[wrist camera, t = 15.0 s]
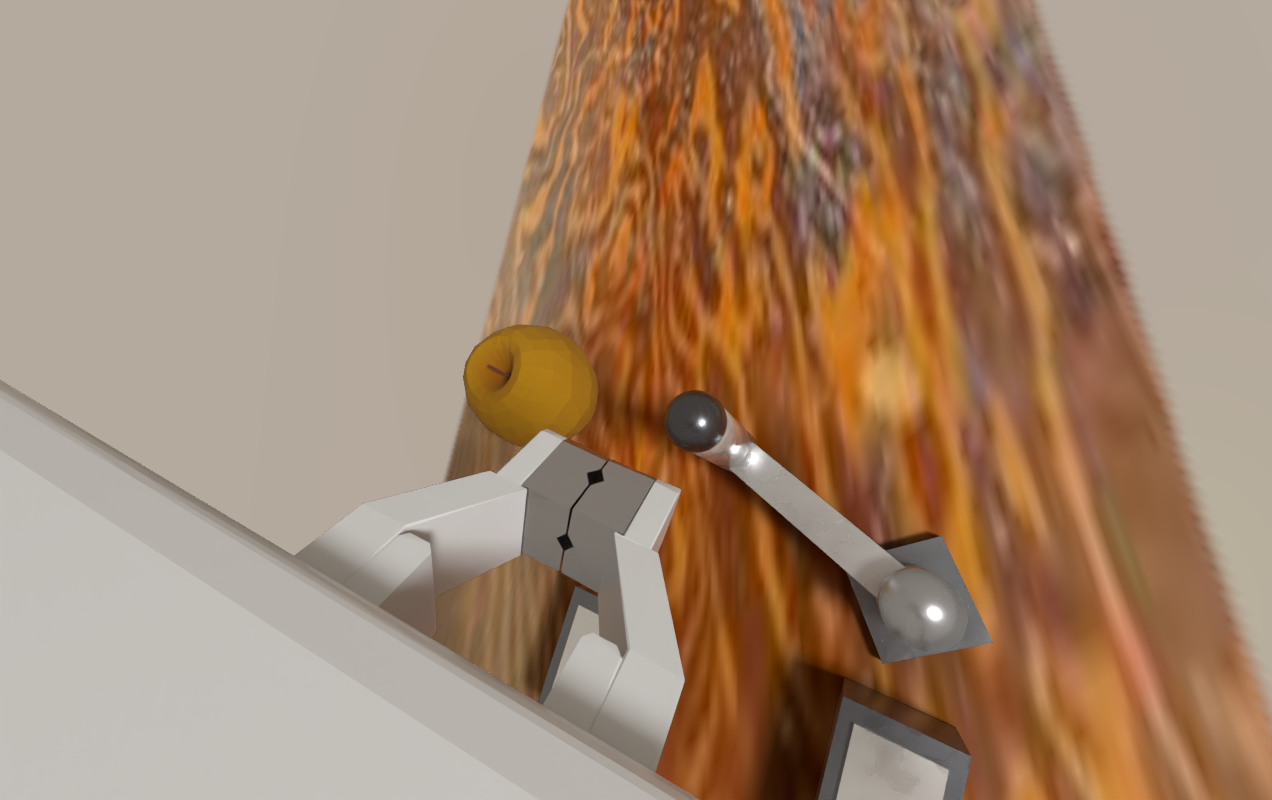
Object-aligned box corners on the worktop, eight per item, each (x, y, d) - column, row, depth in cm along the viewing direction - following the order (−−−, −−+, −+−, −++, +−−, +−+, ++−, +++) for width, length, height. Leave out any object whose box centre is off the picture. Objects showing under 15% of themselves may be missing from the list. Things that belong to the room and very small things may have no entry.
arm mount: (939, 535, 30) (941, 536, 29) (989, 639, 27) (993, 642, 27) (842, 561, 31) (842, 561, 31) (881, 660, 29) (882, 663, 29)
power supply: (668, 612, 35) (646, 622, 31) (627, 752, 34) (599, 780, 30) (601, 581, 38) (574, 586, 34) (560, 709, 37) (527, 729, 33)
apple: (518, 451, 44) (417, 425, 34) (540, 352, 46) (450, 300, 36) (610, 464, 40) (526, 441, 30) (630, 356, 42) (557, 298, 32)
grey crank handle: (969, 602, 27) (1043, 645, 17) (921, 652, 28) (965, 726, 17) (736, 415, 36) (687, 365, 25) (701, 456, 36) (639, 424, 25)
